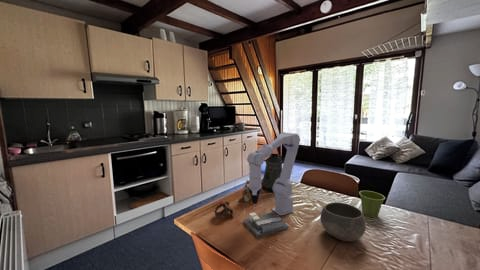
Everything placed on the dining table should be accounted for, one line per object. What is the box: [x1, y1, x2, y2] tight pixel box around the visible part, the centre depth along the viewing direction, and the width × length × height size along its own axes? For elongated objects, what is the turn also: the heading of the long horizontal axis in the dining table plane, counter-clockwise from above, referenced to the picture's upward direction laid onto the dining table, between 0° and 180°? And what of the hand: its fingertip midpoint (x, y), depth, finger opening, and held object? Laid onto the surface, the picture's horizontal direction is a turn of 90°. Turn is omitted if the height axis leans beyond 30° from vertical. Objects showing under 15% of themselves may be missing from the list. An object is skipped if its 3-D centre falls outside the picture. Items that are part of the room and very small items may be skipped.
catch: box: [248, 212, 260, 222], centre depth 100 cm, size 3×6×3 cm, turn 26°
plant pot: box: [358, 190, 386, 218], centre depth 110 cm, size 12×12×11 cm
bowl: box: [320, 202, 367, 242], centre depth 91 cm, size 18×18×13 cm
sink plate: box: [242, 212, 289, 239], centre depth 100 cm, size 17×14×4 cm
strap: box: [255, 216, 282, 227], centre depth 98 cm, size 14×3×1 cm, turn 116°
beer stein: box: [261, 153, 285, 193], centre depth 148 cm, size 16×19×25 cm
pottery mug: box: [213, 201, 235, 219], centre depth 109 cm, size 12×10×8 cm
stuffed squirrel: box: [238, 179, 263, 206], centre depth 128 cm, size 10×14×13 cm
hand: (254, 203), depth 102 cm, fingers closed
